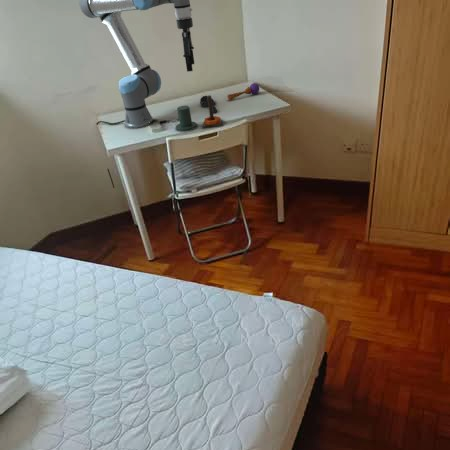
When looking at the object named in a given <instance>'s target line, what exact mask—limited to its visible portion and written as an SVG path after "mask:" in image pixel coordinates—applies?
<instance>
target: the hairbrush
mask: <svg viewBox="0 0 450 450" xmlns="http://www.w3.org/2000/svg"><path fill="white" fill-rule="evenodd" d="M207 96H208V95H207V94H204V95H203V94H202V95H201V97H200V99H199V104H200V106H201V107H202V108H209V107H208V99H207ZM211 100H212V107H213V114H217V113H218V108H217V106H216V103H215V100H214V99H213V98H212V97H211Z"/></svg>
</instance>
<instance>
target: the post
mask: <svg viewBox="0 0 450 450" xmlns="http://www.w3.org/2000/svg"><path fill="white" fill-rule="evenodd" d="M206 96H207V99H208V107H207V108H208V113H209V117H210V121H212V120H214V116H215V115H214V113H213V107H212V100H211V98H212V95H211V94H209V95H208V94H207V95H206ZM216 127H217V128H219V127H222V118H221V117H220V122H219V123H217V124H212V125H208V124H205V122H204V121H203V129H209V128H216Z"/></svg>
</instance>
